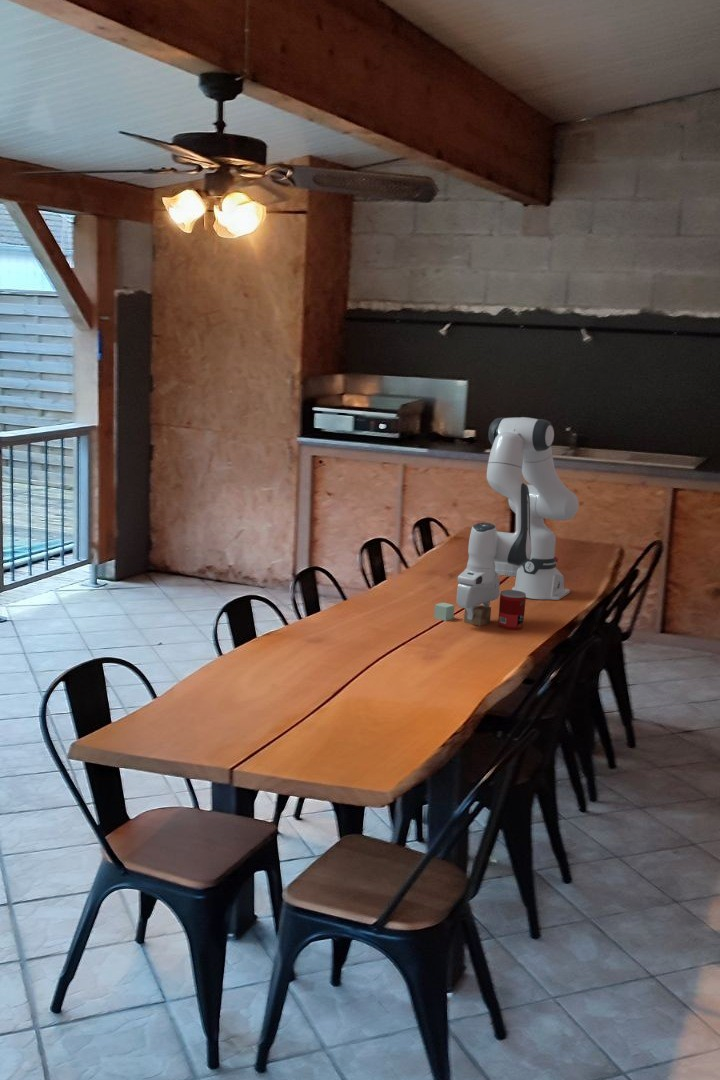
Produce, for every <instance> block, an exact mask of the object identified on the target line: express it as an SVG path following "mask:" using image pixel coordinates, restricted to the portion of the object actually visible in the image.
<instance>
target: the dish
mask: <svg viewBox="0 0 720 1080" xmlns="http://www.w3.org/2000/svg"><path fill="white" fill-rule="evenodd" d="M494 562H495V571H496V573H497V574H499V575H506V576H505V577H511V576H517V570H518V569H519V568H520V567H521V565H520V566H517V565H513V564H509V563H505V562H498V561H494ZM499 575H498V576H499ZM507 575H508V576H507Z"/></svg>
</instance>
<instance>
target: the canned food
mask: <svg viewBox="0 0 720 1080" xmlns="http://www.w3.org/2000/svg"><path fill="white" fill-rule="evenodd" d="M526 600H527V599H526V594H525V593H524V592H521V591H516V590H512V589H503V590H500V594H499V606H498V607H499V608H498V620H497V621H498V622H497V623H498V627H500V628H501V629H503V630H504V629H505V630H513V631H514V630H515V631H517V630H518V631H519V630H521V629H522V628H523V627H524V622H525V612H526Z"/></svg>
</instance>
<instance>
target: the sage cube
mask: <svg viewBox="0 0 720 1080" xmlns="http://www.w3.org/2000/svg"><path fill="white" fill-rule="evenodd" d="M433 612H434V614H433V616H434V617H433V618H434V619H437V620H440V621H444V622H447V621H450V620H453V619H454V618H455V616H454V615H455V604H451V603H447V602H439V603H436V604H435V605H434V611H433Z"/></svg>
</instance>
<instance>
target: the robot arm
mask: <svg viewBox="0 0 720 1080" xmlns="http://www.w3.org/2000/svg"><path fill="white" fill-rule="evenodd" d="M554 438H555V429H554V426H553V424H552V423H551V421H549V420H547V419H543V418H539V419H538V418H533V417H527V416H526V417H525V416H521V417H506V416H505V417H504V416H503V417H497V418H495V419H494V420H493V421H492V422H491V423H490V425H489V427H488V440H489V442H490V444H491V449H490V453H489V457H488V461H487V468H486V481H487V483H488V485H489V486H490V488H491V489H492V490H493V491H495V492H496V493H498V494H500V495H502V496H503V497H506V498H507V499H508V501H507V502H508V506H509V508H510V510H512V512H513V513H514V514H515V531H514V532H505V531H498V530H497V528H496V527H497V526H496V525H495V524H493V523H491V522H478V523H476V524H473V525H472V527H471V530H470V535H469V540H468V548H467V552H468V560H467V563H466V568H465V569H464V570H463V571H462V572H461V573H460V574H459V575H458V576H457V582H458V585H457V589H456V605H457V606H458V608H462V609H465V608H466V611H467V613H468V617H467V618H468V619H470V620H472V619H474V618H475V617H474V616H475V614H474V613H473V609H474V606H476V605H483V606H487V607H491V606H490V605H491V602H492V601H496V600H498V599H499V598H500V593H501V590H500V585H501V584H500V578H499V575H498V574H497V573H496V571H495V562H494V561H498V562H505V563H509V564H513V565H517V566H520V565H521V567H520V568H519V569H518V570H517V576H516V577H515V583H514V584H515V585H514V586H512V587H511V590H516V591H521V592H524V593H525V594H526V598H527V599H532V600H555V601H558V600H560V599H562V598H564V597H566V596H567V595H568V594H569V593H570V592H571V590H570V589H569V588H566V587H564V586H565V578H564V575H563V574H562V573H561V572H560V570H558V569H557V563H559V562H560V560H561V559H560V556H555V553H556V552H555V551H556V540H557V538H556V535H555V532H553V531H552V530H551V529H550V528H549V527H548V526H547V524H546V523H545V520H544V519H547V520H554V521H569V520H571V519H574V517H575V516H576V514H577V513H578V510H579V499H578V497H577V495H576V493H574V492H573V491H571V490H570V489H569V488H568V487H567V486H566V485H565V484H564V483H563V481H562V480H561V479H560V477H559V475H558V472H557V471H556V467H555V462H554V457H553V452H552V451H553V450H552V449H553V448H552V445H553V443H554V440H555V439H554ZM523 478H524V480H525V481H526V482H527V483H529V484H525V483H524V481H523ZM570 594H571V593H570Z"/></svg>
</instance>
